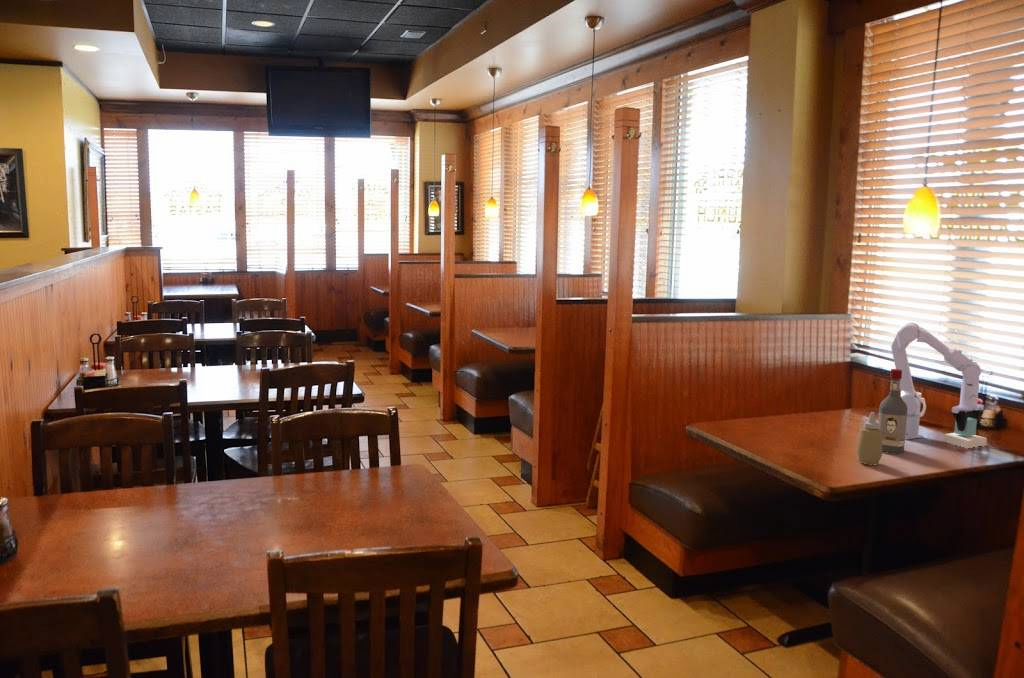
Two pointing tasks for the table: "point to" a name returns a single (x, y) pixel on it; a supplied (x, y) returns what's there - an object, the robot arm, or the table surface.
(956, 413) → the robot arm
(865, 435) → the squeeze bottle
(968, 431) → the teal block
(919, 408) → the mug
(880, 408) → the liquor
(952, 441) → the base board
